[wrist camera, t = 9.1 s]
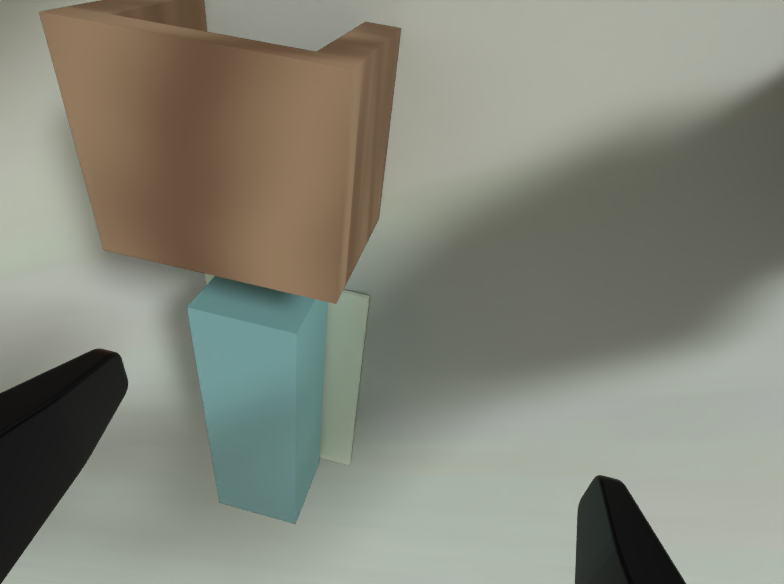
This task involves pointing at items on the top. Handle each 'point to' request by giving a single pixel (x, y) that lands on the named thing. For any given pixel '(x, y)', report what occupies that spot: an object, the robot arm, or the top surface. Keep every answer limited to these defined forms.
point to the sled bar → (261, 392)
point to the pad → (341, 373)
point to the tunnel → (226, 141)
